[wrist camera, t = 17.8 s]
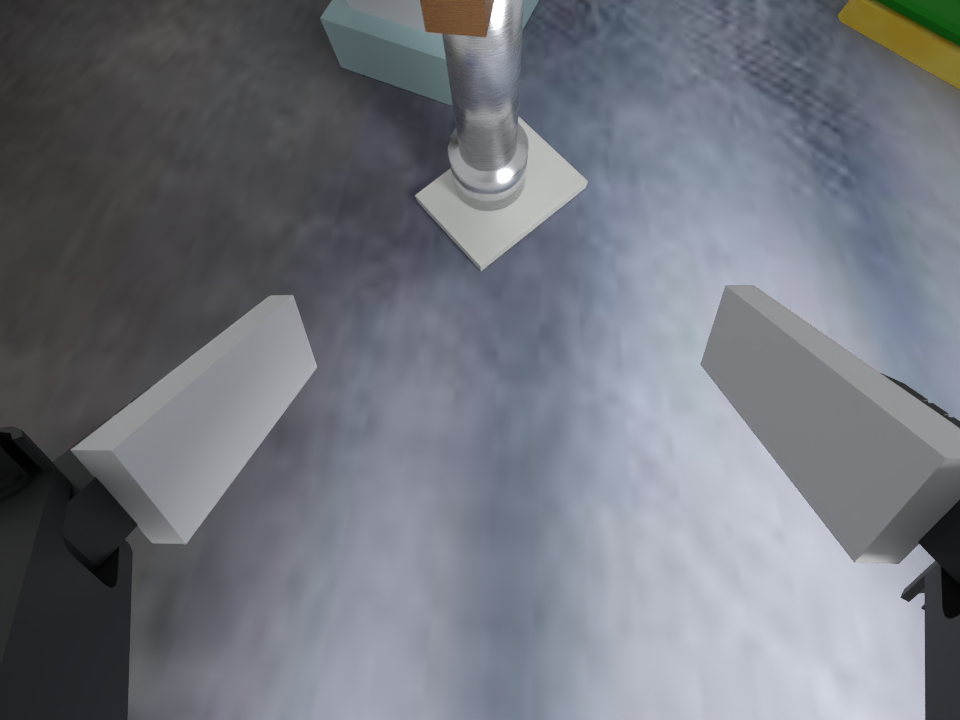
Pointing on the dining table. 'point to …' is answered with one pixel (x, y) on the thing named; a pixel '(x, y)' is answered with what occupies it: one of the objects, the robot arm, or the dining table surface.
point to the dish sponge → (912, 31)
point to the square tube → (392, 44)
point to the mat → (503, 228)
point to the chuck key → (483, 97)
